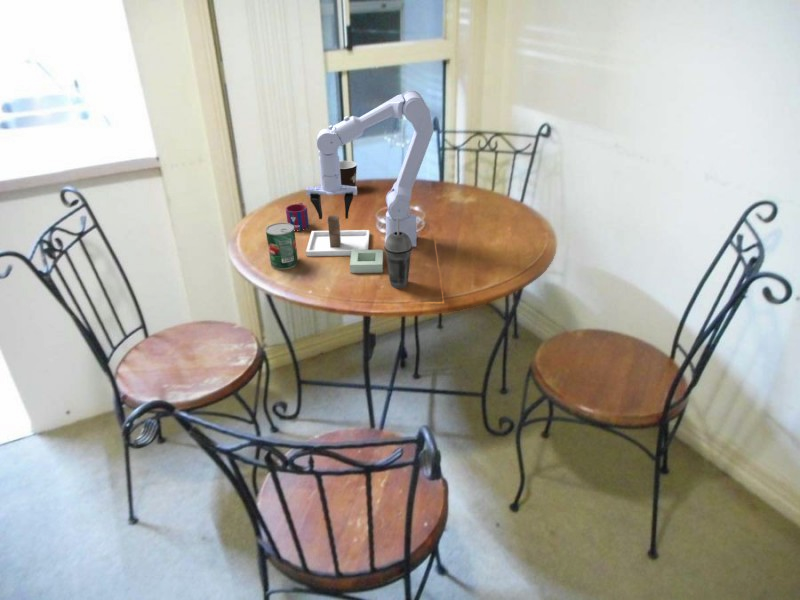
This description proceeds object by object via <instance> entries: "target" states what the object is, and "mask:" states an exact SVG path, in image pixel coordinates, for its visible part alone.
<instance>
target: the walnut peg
mask: <svg viewBox="0 0 800 600" xmlns="http://www.w3.org/2000/svg"><path fill="white" fill-rule="evenodd" d="M327 226H328V231H329V238H330V247H340V246H341V237H340V231H341V228H340V226H341V225H340V215H338V214H337V215H328V218H327Z"/></svg>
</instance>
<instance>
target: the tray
mask: <svg viewBox="0 0 800 600" xmlns="http://www.w3.org/2000/svg"><path fill="white" fill-rule="evenodd" d="M340 237H341V246H340V247H330V238H329V230H311V232H310V236H309V240H308V243H307V247H306V250H305V256H306V257H337V256H341V257H342V256H343V257H344V256H345V257H346V256H349V257H351V251H352V250H369V242H370V229H355V230H353V229H352V230H349V229H346V230H341V229H340Z"/></svg>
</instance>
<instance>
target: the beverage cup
mask: <svg viewBox="0 0 800 600" xmlns="http://www.w3.org/2000/svg"><path fill="white" fill-rule="evenodd" d="M412 250H413V247H412V243H411V240H410V238H409V236H408V235H407V234H405V233H403V232H399V218H397V232H393V233H391V234H390V235H389V236H388V237H387V239H386V242H385V241H384V251H385V255H386V261H387V262H386V263H387V269H388V277H389V284H390V286H391V287H392V288H395V289H405V288H407V286H408V284H409V274H410V262H411V256H412Z"/></svg>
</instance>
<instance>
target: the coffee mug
mask: <svg viewBox="0 0 800 600" xmlns="http://www.w3.org/2000/svg"><path fill="white" fill-rule="evenodd" d="M339 162H340V175H341V185H345V186H356V183H357V166H358V165H357V164H358V163H357V162H355V161H351V160H339Z"/></svg>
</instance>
